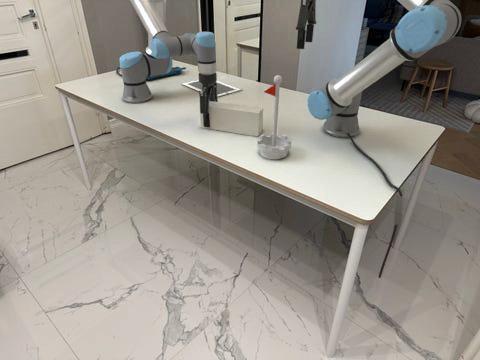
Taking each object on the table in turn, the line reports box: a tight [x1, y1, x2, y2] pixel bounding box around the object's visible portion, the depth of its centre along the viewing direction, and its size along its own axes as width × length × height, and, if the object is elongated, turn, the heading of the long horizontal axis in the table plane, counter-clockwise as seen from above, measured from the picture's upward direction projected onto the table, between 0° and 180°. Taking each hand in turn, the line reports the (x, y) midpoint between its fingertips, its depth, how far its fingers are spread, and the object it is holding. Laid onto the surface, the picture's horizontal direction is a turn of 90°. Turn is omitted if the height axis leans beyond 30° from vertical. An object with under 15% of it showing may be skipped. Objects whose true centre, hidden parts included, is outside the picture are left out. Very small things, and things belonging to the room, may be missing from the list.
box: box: [199, 101, 264, 137], centre depth 149 cm, size 27×6×11 cm, turn 70°
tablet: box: [181, 79, 242, 98], centre depth 200 cm, size 32×20×1 cm, turn 41°
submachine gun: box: [146, 66, 187, 81], centre depth 223 cm, size 34×4×25 cm
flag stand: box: [256, 74, 292, 160], centre depth 125 cm, size 13×13×30 cm
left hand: (210, 123), depth 154 cm, fingers closed on box, 7 cm apart
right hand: (304, 45), depth 132 cm, fingers open, 13 cm apart
